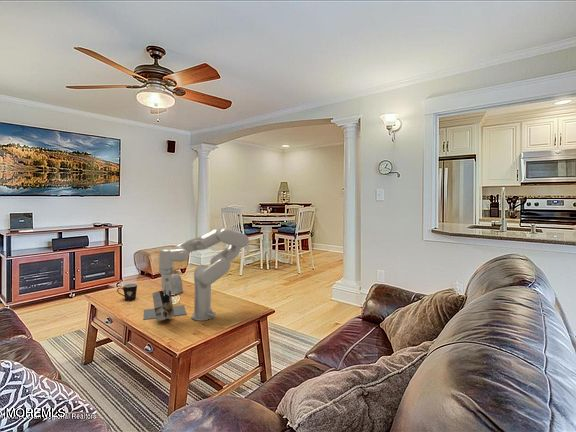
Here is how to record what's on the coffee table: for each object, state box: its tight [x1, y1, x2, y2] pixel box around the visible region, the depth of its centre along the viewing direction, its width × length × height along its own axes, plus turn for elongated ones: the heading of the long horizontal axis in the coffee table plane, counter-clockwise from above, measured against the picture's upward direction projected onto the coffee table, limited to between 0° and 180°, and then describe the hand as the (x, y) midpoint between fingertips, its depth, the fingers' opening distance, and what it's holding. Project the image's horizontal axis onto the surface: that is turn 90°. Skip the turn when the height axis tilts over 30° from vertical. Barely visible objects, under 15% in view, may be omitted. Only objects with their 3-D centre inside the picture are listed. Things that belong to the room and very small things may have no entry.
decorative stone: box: [171, 273, 184, 295], centre depth 227 cm, size 11×6×15 cm, turn 154°
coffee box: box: [151, 290, 176, 322], centre depth 181 cm, size 9×6×16 cm
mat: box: [143, 304, 188, 321], centre depth 193 cm, size 16×24×1 cm, turn 114°
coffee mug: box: [116, 283, 138, 302], centre depth 213 cm, size 12×9×10 cm
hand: (166, 302), depth 176 cm, fingers closed
